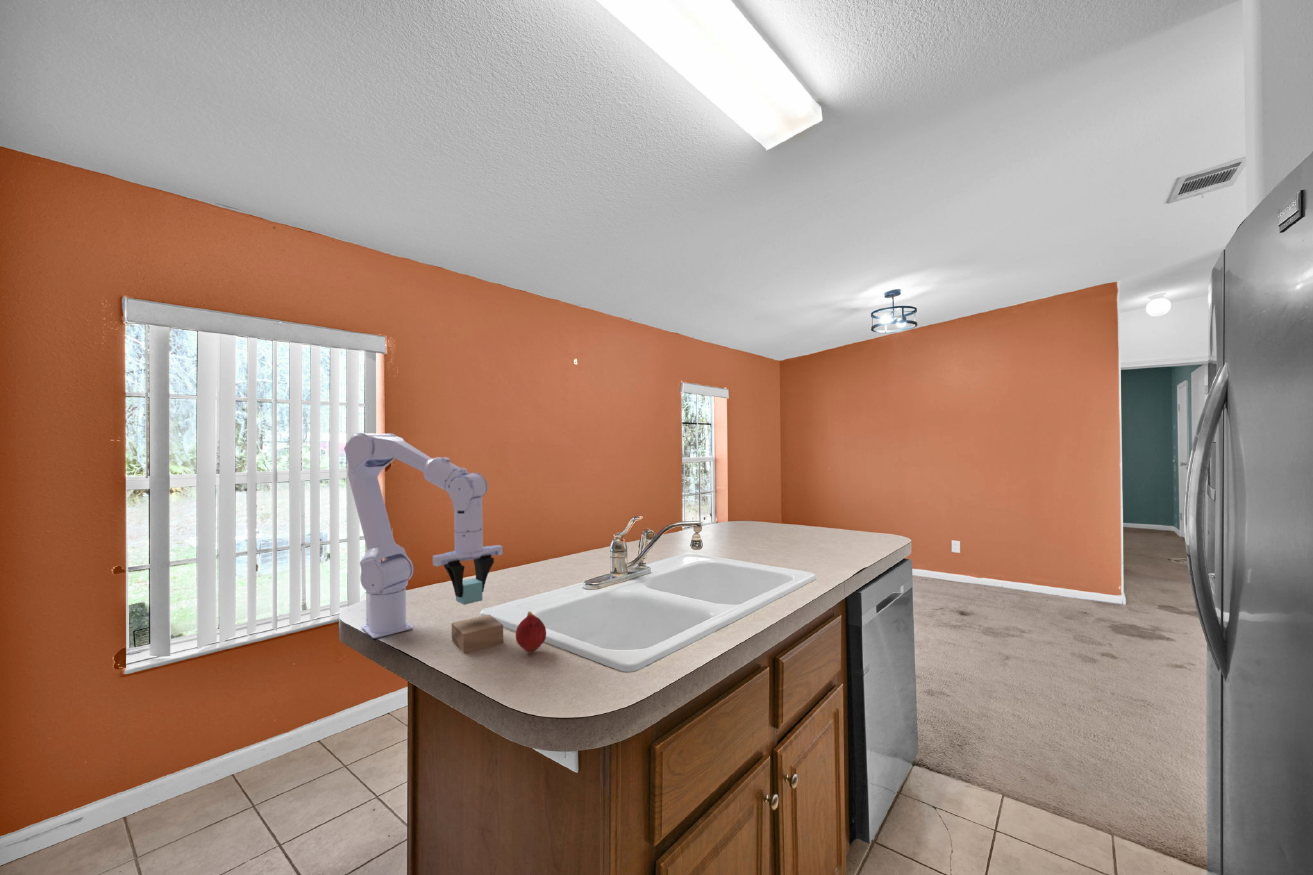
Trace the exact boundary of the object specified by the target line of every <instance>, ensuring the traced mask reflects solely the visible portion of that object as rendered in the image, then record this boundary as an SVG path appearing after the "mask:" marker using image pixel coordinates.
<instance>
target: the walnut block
mask: <svg viewBox="0 0 1313 875" xmlns="http://www.w3.org/2000/svg"><path fill="white" fill-rule="evenodd" d="M451 642H452V643H453V644H454V645H455V646H456V647H457V648H458V650H460V651H461V652H462V653H463V654H465V653H469V652H474V651H477V650H481V649H485V648H488V647H491V646H496V645H500V644H503V643H504V624H503V623H501V622H500V621H498V620H497V619H496V618H495V617H493V616H492V615H491V614H486V615H481V616H477V617H473V618H469V619H464V620H458V621H456V622H452V623H451Z"/></svg>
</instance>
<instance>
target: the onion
mask: <svg viewBox="0 0 1313 875" xmlns="http://www.w3.org/2000/svg"><path fill="white" fill-rule="evenodd" d="M515 631H516V632H515V641H516V643H517V644H518V646H519V647H520V648H522V650H525V652H527V653H528V654H532V653H534V652H535V651H536V650H537V649H539V648H540V647H541V646H542V645H543V644H544V642H545V640H546V638H547V629H546V626H545V624H544V622H543V621H542V620H541V619H540V617H537V616H536V615H535V614H533V613H532V611H527V614H526V617H524V618H523V619H522V620H521V621H520V622H519V624H518V625H517V627H516V630H515Z"/></svg>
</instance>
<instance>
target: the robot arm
mask: <svg viewBox="0 0 1313 875" xmlns="http://www.w3.org/2000/svg"><path fill="white" fill-rule="evenodd" d="M344 453H345V457H346V460H347V464H348V465H347V477H348V480H349V486H350V489H351V492H352V496H353V501H354V503H355V504H354V505H355V507H356V510H357V515H358V519H359V523H360V527H361V530H362V533H363V538H364V541H365V545H366V546H365V547H366V549H367V551H366V553H365V554H364V556H363V557H362V559H360V560H359V561H360V562H359V565H360V566H359V567H360V583H361V587H362V588H363V589H364V590H365V591H366V594H367V596H366V601H365V606H366V610H365V615H366V617H365V618H366V620H365V623H366V624H363V625H361V629H362V630H364V631H365V632H366V633H367V635H369V636H370V637H371V638H372V639H378V638H382V637H385V636H389V635H394V634H396V633H401V632H402V633H403V632H404V631H409V630H412V629H413V626H412V624H410V623H409V622H407V617H406V616H407V594H406V593H407V592H406V591H407V586H408V585H409V584H408V583H409V582H408V581H409V580H410V579H411V578H412V576H413V573H414V565H413V561H412V560H411V559H410V557H408V555H407V552H406V549H405V548H404V547H402V546H401V545H400V544H397V543H396V542H395V538H394V534H393V531H392V527H391V523H390V520H389V519H390V518H389V516H388V512H387V511H388V510H387V508H386V504H385V501H384V497H383V493H382V490H381V486H380V482H379V479H378V478H379V475H380V474H381V473H382V471H383V470H384V469H385V468H386V467H387V466H389V465H390V464H391V463H392V462H393V461H394V460H397V461H400V462H401V463H404V464H406V465H408V466H410V467H412V468H414V469H416V470H419V471H421V472H422V473H423V478H424V479H425V480H426V481H427V482H429V483H431V484H433V485H434V486H436V487H438V488H440V489H442V490H444V491H445V492H447V494H448V496H449V498H450V500H451V501H452V508H453V510H454V512H453V514H454V515H453V516H454V518H453V520H454V521H453V522H454V525H453V526H454V528H453V530H454V550H453V551H449V552H444V553H441V554H434V555H432V566H434V567H441V566H443V567H444V569H445V571H446V573H447V574H448V576H449V578H450V581H451V584H452V587H453V590H454V595H455V597H456V596H457V597H462V596H463V581H464V573H465V572H464V571H465V567H466V566H464V565H462V563H461V562H465V561H472V560H473V564H474V570H475V571H474V572H475V579H477V580H479V581H482V593H483V592H484V589H485V585H486V583H487V582H486V581H487V578H488V575H489V573H490V570H491V569H492V567H493V565H494V562H495V558H494V557H492V556H502V555H503V545H499V544H496V545H488V546H484V528H483V527H484V525H483V524H484V523H483V522H484V519H483V516H484V515H483V512H484V510H483V509H484V508H483V507H484V506H483V498H484V497H485V496H486V494H487V492H488V488H489V487H488V482H487V479H486V478H485V477H484V475H481V473H479V472H471V473H469V472H468V469H467V468H466V467H459V466H457V465H456V464H455V463H452V462H451V459H450V458H449V457H447V456H443V457H439V456H438V457H435V458H434V457H433V458H432V457H430V456H429V455H427V454H425V453H424V452H422V451H421V450H419V449H418V448H416V447H414V446H413V445H411V444H410V443H408V442H406V441H405V440H404V438H402V437H400V436H397V435H396V434H394V433H389V432H388V433H367V432H366V433H365V432H355V433H353V435H351V437H350V438H349V439H348V441H347V443H346V444H345V445H344ZM383 559H385V560H383Z"/></svg>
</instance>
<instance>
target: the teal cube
mask: <svg viewBox="0 0 1313 875" xmlns="http://www.w3.org/2000/svg"><path fill="white" fill-rule="evenodd" d="M455 601H456V602H458V603H460V604H462V605H464V606H465V605H466V606H467V605H469V604H473V603H477V602H482V601H483V592H482V581H479V580H477V579H476V578H470V579H469V578H468V579H465V580H464V579H463V596H462V597H457V596H455Z"/></svg>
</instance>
